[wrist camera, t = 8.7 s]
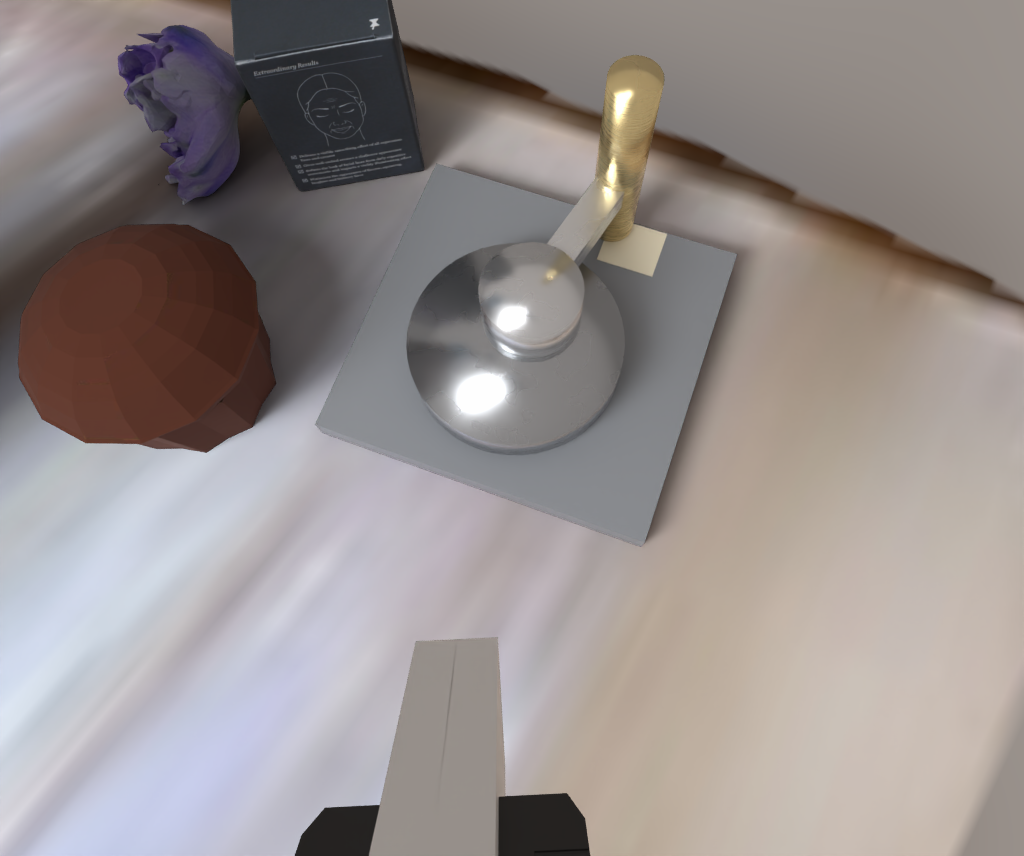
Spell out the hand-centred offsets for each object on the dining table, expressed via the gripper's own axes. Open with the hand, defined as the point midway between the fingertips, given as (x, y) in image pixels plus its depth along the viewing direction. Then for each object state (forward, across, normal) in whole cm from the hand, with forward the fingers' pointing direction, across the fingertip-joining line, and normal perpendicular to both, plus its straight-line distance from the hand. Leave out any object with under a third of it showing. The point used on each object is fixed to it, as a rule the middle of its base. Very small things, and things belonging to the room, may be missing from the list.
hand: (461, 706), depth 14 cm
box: (+38, -7, +15) cm, 41 cm away
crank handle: (+29, +3, +4) cm, 29 cm away
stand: (+30, +2, +3) cm, 30 cm away
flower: (+38, -16, +15) cm, 44 cm away
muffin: (+30, -16, +2) cm, 34 cm away
